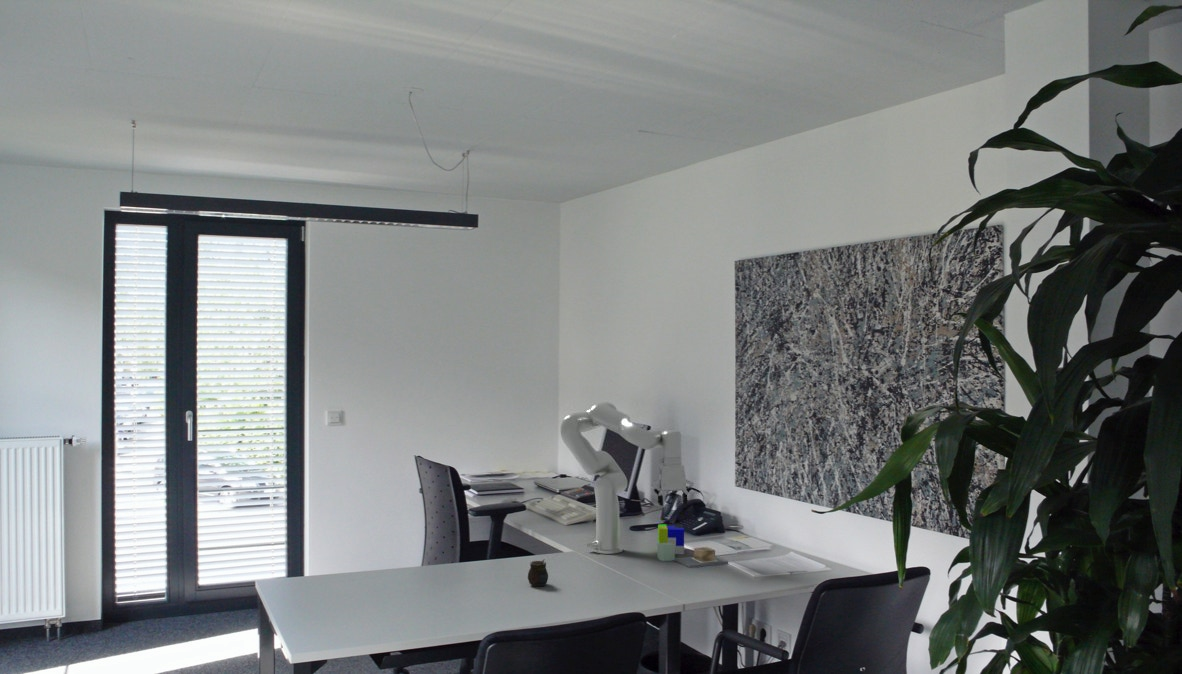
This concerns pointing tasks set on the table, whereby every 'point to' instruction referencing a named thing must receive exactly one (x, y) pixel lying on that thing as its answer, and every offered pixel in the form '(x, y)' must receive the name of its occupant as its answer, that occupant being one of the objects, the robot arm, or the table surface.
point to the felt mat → (699, 562)
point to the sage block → (666, 551)
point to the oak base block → (704, 554)
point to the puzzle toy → (672, 536)
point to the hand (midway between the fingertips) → (672, 504)
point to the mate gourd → (538, 573)
